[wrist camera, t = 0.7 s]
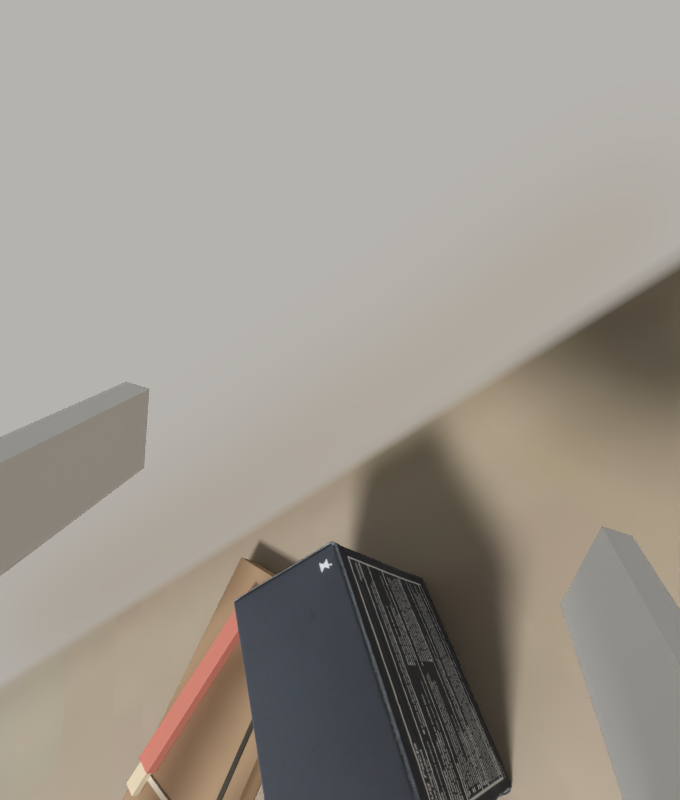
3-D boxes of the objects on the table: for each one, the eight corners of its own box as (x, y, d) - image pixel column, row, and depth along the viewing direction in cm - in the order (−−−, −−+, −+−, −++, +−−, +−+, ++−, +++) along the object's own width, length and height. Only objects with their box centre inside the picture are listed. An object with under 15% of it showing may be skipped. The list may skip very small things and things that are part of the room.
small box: (335, 620, 29) (224, 597, 21) (422, 573, 28) (336, 531, 20) (399, 838, 22) (269, 922, 14) (517, 791, 21) (444, 855, 13)
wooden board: (333, 610, 29) (320, 607, 28) (195, 940, 24) (172, 952, 23) (254, 561, 34) (240, 557, 33) (126, 827, 29) (104, 833, 28)
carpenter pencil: (253, 592, 31) (246, 590, 31) (263, 602, 30) (256, 601, 30) (132, 780, 29) (123, 781, 29) (140, 796, 28) (130, 799, 28)
